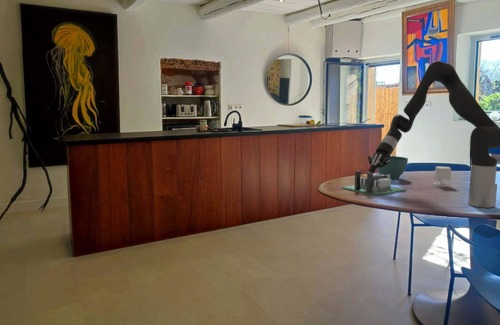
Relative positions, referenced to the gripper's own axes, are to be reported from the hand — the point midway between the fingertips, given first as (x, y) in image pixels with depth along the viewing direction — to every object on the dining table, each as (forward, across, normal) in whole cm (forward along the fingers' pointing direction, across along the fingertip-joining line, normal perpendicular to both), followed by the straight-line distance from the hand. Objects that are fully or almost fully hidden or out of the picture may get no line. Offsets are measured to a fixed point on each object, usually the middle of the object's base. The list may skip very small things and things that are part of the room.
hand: (370, 172), depth 196 cm
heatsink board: (+4, 0, +9) cm, 10 cm away
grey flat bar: (-5, 0, +9) cm, 10 cm away
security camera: (-22, +14, +36) cm, 44 cm away
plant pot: (-21, -16, +34) cm, 43 cm away
